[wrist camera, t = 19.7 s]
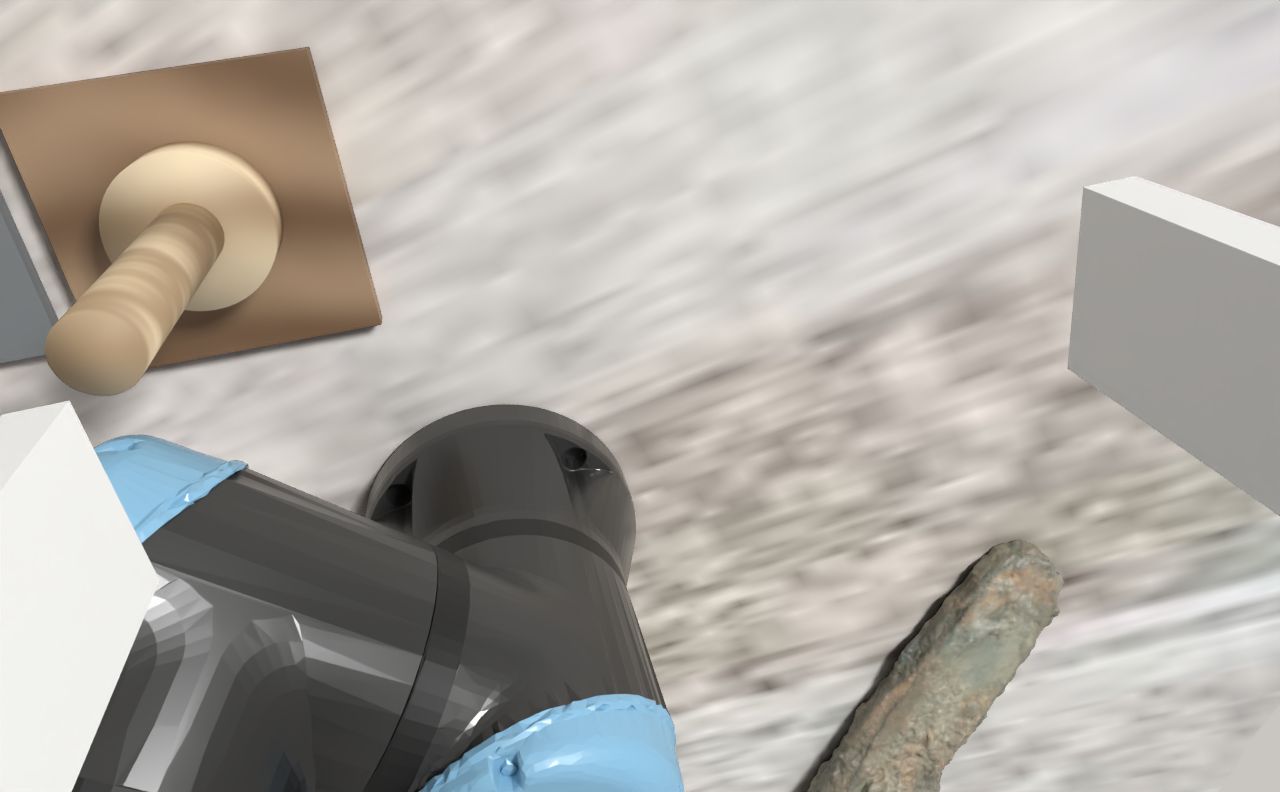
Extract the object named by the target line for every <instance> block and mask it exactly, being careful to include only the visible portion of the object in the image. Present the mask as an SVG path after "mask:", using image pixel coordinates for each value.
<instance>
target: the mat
mask: <svg viewBox="0 0 1280 792" xmlns="http://www.w3.org/2000/svg"><path fill="white" fill-rule="evenodd" d="M58 321H59V320H58V318H57V316H56V314H55V311H54V309H53V307H52V305H51V302H50V300H49V298H48V296H47V294H46V291H45V289H44V287H43V285H42V282H41V280H40V278H39V276H38V273H37V271H36V269H35V267H34V265H33V262H32V260H31V258H30V256H29V253H28V251H27V249H26V247H25V244H24V242H23V240H22V238H21V236H20V233H19V231H18V229H17V227H16V224H15V222H14V220H13V218H12V216H11V213H10V211H9V209H8V207H7V204H6V202H5V200H4V198H3V195H2V193H1V191H0V363H4V362H10V361H15V360H21V359H26V358H32V357H37V356H43V355H45V341H46V337H47V335H48V333H49V331H50V330H51V328H52V327H53V326H54V325H55V324H56V323H57V322H58Z"/></svg>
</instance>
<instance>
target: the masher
mask: <svg viewBox="0 0 1280 792" xmlns="http://www.w3.org/2000/svg"><path fill="white" fill-rule="evenodd" d="M99 230H100V236H101V240H102V243H103V246H104V249H105V251H106V254H107V256H108V258H109V260H110V261H111V263H112V264H111V266H110V267H109V268H108V269H107V270H106V271H105V272H104V273H103V274H102V275H101V276H100V277H99V278H98V279H97V280H96V281H95V282H94V284H93V285H92V286H91V287H90V288H89V289H88V290H87V291H86V292H85V293H84V294H83V295H82V296H81V297H80V298H79V299H78V300H77V302H76V303H75V304H74V305H73V306H72V307H71V308H70V309H69V310H68V311H67V312H66V313H65V314H64V315H63V316H62V317H61V318H60V319H59V321H58V322H57V323H56V324H55V325H54V326H53V327H52V328H51V330H50V331H49V333H48V335H47V337H46V341H45V355H46V359H47V362H48V364H49V366H50V368H51V369H52V371H53V372H54V373H55V375H56V376H57V377H58V378H59V379H60V380H61V381H63V382H64V383H65V384H67V385H68V386H70V387H72V388H73V389H75V390H78V391H80V392H83V393H86V394H91V395H98V396H108V395H115V394H119V393H122V392H124V391H126V390H128V389H130V388H131V387H133V386H134V385H135V384H136V383H137V382H138V381H139V380H140V379H141V377H142V376H143V374H144V373H145V371H146V369H147V368H148V366H149V365H150V363H151V362H152V360H153V358H154V357H155V355H156V354H157V352H158V351H159V349H160V347H161V346H162V344H163V343H164V341H165V340H166V338H167V336H168V335H169V333H170V332H171V330H172V329H173V327H174V325H175V324H176V322H177V321H178V319H179V318H180V316H181V314H182V313H183V311H184V310H189V311H210V310H218V309H222V308H226V307H229V306H231V305H234V304H236V303H238V302H240V301H242V300H244V299H246V298H247V297H248V296H250V295H251V294H252V293H254V292H255V291H256V290H257V289H258V288H259V287H260V285H261V284H262V283H263V281H264V280H265V279H266V277H267V275H268V273H269V272H270V270H271V268H272V265H273V263H274V261H275V259H276V257H277V254H278V252H279V249H280V246H281V243H282V238H283V215H282V211H281V207H280V204H279V201H278V199H277V196H276V194H275V193H274V191H273V189H272V187H271V186H270V184H269V183H268V181H267V180H266V178H265V177H264V176H263V175H262V174H261V173H260V172H259V171H258V170H257V169H256V168H255V167H254V166H253V165H252V164H251V163H249V162H248V161H247V160H245V159H244V158H242V157H241V156H239V155H237V154H235V153H234V152H232V151H230V150H227V149H225V148H222V147H220V146H217V145H213V144H209V143H204V142H197V141H181V142H173V143H168V144H164V145H161V146H159V147H156V148H153V149H152V150H150V151H148V152H146V153H144V154H143V155H142V156H141V157H139V158H138V159H137V160H135V161H134V162H133V163H132V164H130V165H129V166H128V167H127V168H125V169H124V170H123V171H121V172H120V173H119V174H118V175H117V176H116V177H115V178H114V180H113V181H112V182H111V184H110V185H109V187H108V188H107V190H106V192H105V194H104V197H103V199H102V203H101V206H100V213H99Z"/></svg>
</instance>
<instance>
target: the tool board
mask: <svg viewBox="0 0 1280 792" xmlns="http://www.w3.org/2000/svg"><path fill="white" fill-rule="evenodd" d="M0 128H1V130H2V132H3V135H4V137H5V139H6V142H7V144H8V146H9V149H10V151H11V153H12V156H13V158H14V160H15V162H16V165H17V167H18V169H19V172H20V174H21V176H22V179H23V181H24V183H25V185H26V188H27V190H28V192H29V195H30V197H31V199H32V202H33V204H34V206H35V208H36V211H37V213H38V215H39V218H40V220H41V222H42V225H43V227H44V229H45V231H46V234H47V236H48V238H49V241H50V243H51V245H52V248H53V250H54V252H55V254H56V257H57V259H58V261H59V264H60V266H61V268H62V271H63V273H64V275H65V277H66V280H67V282H68V284H69V287H70V289H71V291H72V294H73V296H74V298H75V300H76V302H77V300H78V299H79V298H80V297H81V296H82V295H83V294H84V293H85V292H86V291H87V290H88V289H89V288H90V287H91V286H92V285H93V284H94V282H95V281H96V280H97V279H98V278H99V277H100V276H101V275H102V274H103V273H104V272H105V271H106V270H107V269H108V268H109V267H110V266H111V264H112V263H111V261H110V260H109V258H108V256H107V254H106V251H105V249H104V246H103V243H102V240H101V236H100V230H99V213H100V206H101V203H102V199H103V197H104V194H105V192H106V190H107V188H108V187H109V185H110V184H111V182H112V181H113V180H114V178H115V177H116V176H117V175H118V174H119V173H120V172H121V171H123V170H124V169H125V168H127V167H128V166H129V165H130V164H132V163H133V162H134V161H135V160H137V159H138V158H139V157H141V156H142V155H143V154H144V153H146V152H148V151H150V150H152V149H153V148H156V147H159V146H161V145H164V144H168V143H173V142H181V141H197V142H204V143H209V144H213V145H217V146H220V147H222V148H225V149H227V150H230V151H232V152H234V153H235V154H237V155H239V156H241V157H242V158H244V159H245V160H247V161H248V162H249V163H251V164H252V165H253V166H254V167H255V168H256V169H257V170H258V171H259V172H260V173H261V174H262V175H263V176H264V177H265V178H266V180H267V181H268V183H269V184H270V186H271V187H272V189H273V191H274V193H275V194H276V196H277V199H278V201H279V204H280V207H281V211H282V215H283V238H282V243H281V246H280V249H279V252H278V254H277V257H276V259H275V261H274V263H273V265H272V268H271V270H270V272H269V273H268V275H267V277H266V279H265V280H264V281H263V283H262V284H261V285H260V287H259V288H258V289H257V290H256V291H255V292H254V293H252V294H251V295H250V296H248V297H247V298H246V299H244V300H242V301H240V302H238V303H236V304H234V305H231V306H229V307H226V308H222V309H218V310H210V311H189V310H184V311H183V313H182V314H181V316H180V318H179V319H178V321H177V322H176V324H175V325H174V327H173V329H172V330H171V332H170V333H169V335H168V336H167V338H166V340H165V341H164V343H163V344H162V346H161V347H160V349H159V351H158V352H157V354H156V355H155V357H154V358H153V360H152V362H151V363H150V365H149V366H148V368H151V367H156V366H162V365H167V364H172V363H178V362H183V361H189V360H194V359H199V358H205V357H210V356H215V355H221V354H226V353H231V352H237V351H242V350H248V349H253V348H258V347H264V346H269V345H274V344H280V343H285V342H291V341H296V340H301V339H307V338H312V337H317V336H323V335H328V334H333V333H339V332H344V331H350V330H355V329H360V328H366V327H371V326H376V325H381V324H382V314H381V311H380V307H379V303H378V300H377V296H376V292H375V288H374V285H373V281H372V277H371V274H370V270H369V266H368V263H367V259H366V255H365V251H364V248H363V244H362V240H361V237H360V233H359V229H358V226H357V222H356V218H355V214H354V211H353V207H352V203H351V200H350V196H349V192H348V189H347V185H346V181H345V177H344V174H343V170H342V166H341V163H340V159H339V155H338V152H337V148H336V144H335V140H334V137H333V133H332V129H331V126H330V122H329V118H328V115H327V111H326V107H325V103H324V100H323V96H322V92H321V89H320V85H319V81H318V78H317V74H316V70H315V66H314V63H313V59H312V55H311V52H310V48H309V47H305V48H298V49H291V50H284V51H278V52H271V53H264V54H257V55H251V56H244V57H237V58H230V59H223V60H217V61H210V62H203V63H196V64H190V65H183V66H176V67H169V68H162V69H156V70H149V71H142V72H135V73H128V74H122V75H115V76H108V77H101V78H95V79H88V80H81V81H74V82H67V83H61V84H54V85H47V86H40V87H34V88H27V89H20V90H13V91H6V92H0Z"/></svg>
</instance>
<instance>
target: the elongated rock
mask: <svg viewBox="0 0 1280 792" xmlns="http://www.w3.org/2000/svg"><path fill="white" fill-rule="evenodd" d="M1063 584H1064V582H1063V580H1062V577H1061V575H1060V574H1059V573H1058V572H1056V571H1055V568H1054V567H1053V564H1052V563H1050V562H1049V558H1048V557H1047V556H1046V555H1044V554H1043V553H1041V551H1040V549H1039V548H1038V547H1037V546H1035V545H1033V544H1030V543H1027V542H1024V541H1021V540H1014V541H1011V542H1008V543H1002V544H999V545H996V546H993V547H992V548H991V549H990V551H989V552H988V554H987V555H983V556H982V557H981V559H980V561H979V562H978V563H977V564H976V565H975V566H974V568H973V569H972V571H970V573H969V574H968V576H967V577H966V579H965V580H964V581H963V582H962V583H961V584H960V585H959V586H958V587H957V588H955V589H954V590H953V591H952V593H950V595H949V596H948V597H946V598H945V600H944V601H943V603H942V606H941V608H939V610H938V612H937V613H936V614H935V615H934V616H933V617H932V618H931V619H929V620H928V621H927V622H926V623H925V624H924V625H923V627H922V629H921V630H920V632H919V633H918V634H917V635H916V636H915V638H913V639H912V640H911V641H910V642H909V643H908V644H907V645H906V646H905V648H904V650H903V651H902V652H901V654H900V656H899V659H898V661H896V662H895V665H894V667H893V669H891V671H890V672H889V675H888V676H887V677H886V678H883V679H882V680H881V681H880V684H879V685H878V686H877V689H876V691H875V693H874V694H872V695H871V697H870V698H869V699H868V700H867V702H866V703H865V702H863V703H862V704H861V705H860V706H859V707H858V708H857V709H856V713H855V718H854V720H853V722H852V724H851V726H850V728H849V730H848V733H847V734H846V735H845V736H844V737H843V739H842V741H841V742H840V746H839V747H837V748H836V749H834V750H833V756H832V757H831V758H830V760H829V761H825V762H823V763H822V764H821V766H820V768H819V769H818V774H817V775H816V776H815V777H814V778H813V780H812V781H811V785H810V788H809V789H808V790H807V792H939V791H940V778H941V775H942V772H941V771H942V770H943V769H944V766H945V765H947V764H949V762H950V761H951V760H952V758H953V756H954V754H955V752H956V751H957V750H958V748H960V747H961V746H962V745H963V744H965V743H966V742H967V738H968V737H969V736H970V735H971V734H972V733H973V732H974V731H975V730H976V728H977V727H978V726H979V725H980V724H981V723H982V721H983V720H984V719H985V718H986V716H987V711H988V710H989V708H990V707H991V705H992V703H993V701H994V700H995V699H996V697H998V696H1000V695H1001V694H1002V693H1003V692H1004V690H1005V687H1006V685H1007V684H1008V683H1009V682H1010V681H1011V680H1012V679H1013V677H1014V676H1015V674H1016V670H1017V668H1018V666H1019V665H1020V664H1022V663H1023V662H1024V661H1025V660H1026V659H1027V657H1028V656H1029V655H1030V652H1031V650H1032V649H1033V648H1034V647H1035V644H1036V639H1037V637H1038V636H1039V634H1040V633H1041V631H1042V630H1043V629H1044V627H1046V626H1048V625H1049V624H1050V623H1051V622H1052V619H1053V617H1056V616H1058V614H1059V613H1060V610H1059V609H1058V607H1057V605H1058V599H1059V592H1060V590H1061V586H1062V585H1063Z"/></svg>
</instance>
